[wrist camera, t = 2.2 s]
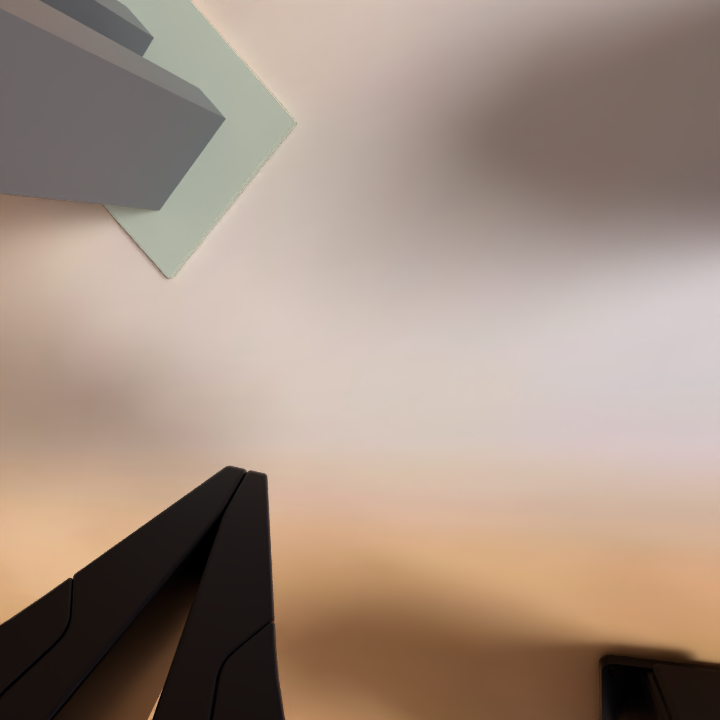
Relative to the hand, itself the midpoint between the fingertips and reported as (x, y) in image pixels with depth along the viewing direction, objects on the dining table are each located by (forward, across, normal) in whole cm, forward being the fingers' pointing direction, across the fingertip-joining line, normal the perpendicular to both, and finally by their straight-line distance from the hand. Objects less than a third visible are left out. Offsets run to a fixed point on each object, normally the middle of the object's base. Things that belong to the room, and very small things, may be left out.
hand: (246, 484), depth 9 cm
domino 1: (+13, +8, -5) cm, 16 cm away
